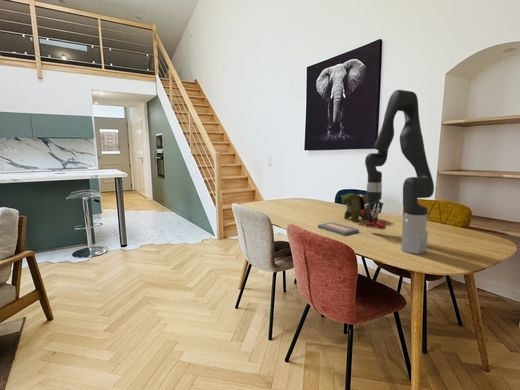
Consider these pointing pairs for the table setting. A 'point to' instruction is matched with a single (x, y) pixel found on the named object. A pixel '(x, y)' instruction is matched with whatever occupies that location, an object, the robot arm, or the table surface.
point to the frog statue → (354, 205)
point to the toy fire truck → (374, 222)
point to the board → (338, 228)
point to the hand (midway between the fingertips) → (372, 221)
